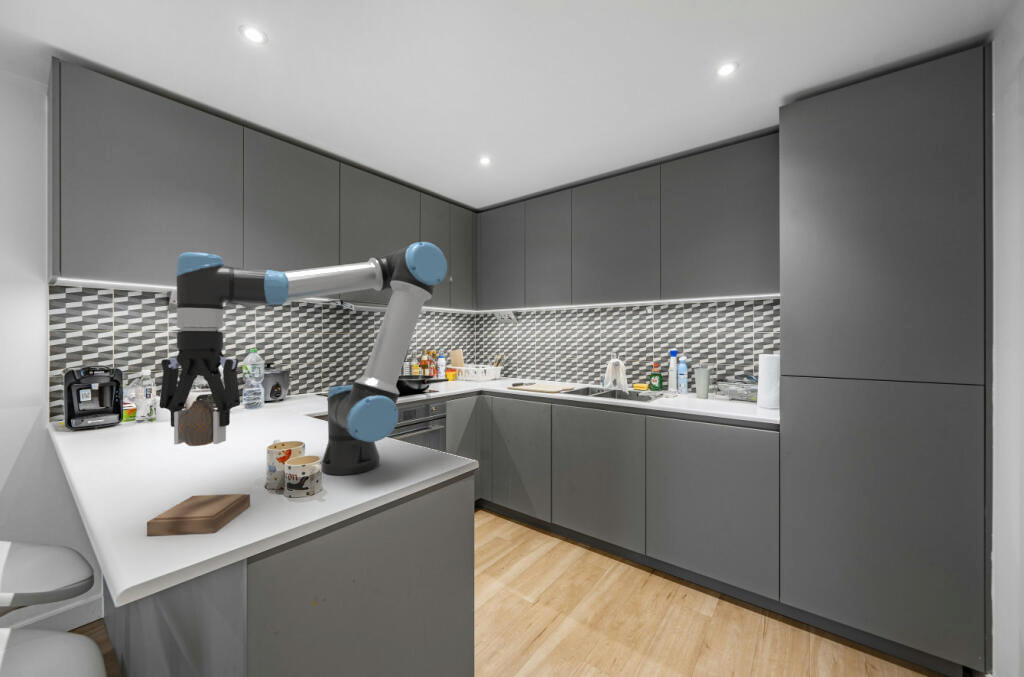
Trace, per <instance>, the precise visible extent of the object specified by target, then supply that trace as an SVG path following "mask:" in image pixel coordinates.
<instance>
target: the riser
mask: <svg viewBox="0 0 1024 677" xmlns="http://www.w3.org/2000/svg"><path fill="white" fill-rule="evenodd" d="M250 507H251V494H250V493H248V494H247V493H246V494H245V493H232V494H231V493H230V494H229V493H228V494H227V493H226V494H208V495H207V494H203V495H192V496H190V497H188V498H186V499H185V500H183V501H182V502H179V503H178V504H175V506H171V508H169V509H167V510H165V511H164V512H162V513H160V514H159V515H157V516H155V517H154V518H151V519H150V520H148V521H147V522H146V537H152V536H155V537H157V536H172V535H173V536H175V535H176V536H177V535H194V534H195V535H196V534H198V535H199V534H200V535H202V534H215V533H217V532H218V531H219V530H221V529H222V528H224V526H227V525H228V524H229V523H230V522H231V521H233V519H235V518H237V517H238V516H239V515H240V514H242V513H243V512H244V511H245V510H248V508H250Z"/></svg>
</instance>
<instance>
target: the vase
mask: <svg viewBox="0 0 1024 677" xmlns="http://www.w3.org/2000/svg"><path fill="white" fill-rule="evenodd" d="M186 410H187V411H186V412H185V414H184V415H183V416H182V418H181V420H180V424H179V434H180V437H181V439H182V441H183V442H184V444H186V445H187V446H189V447H200V446H207V445H209V444H213V412H215V411H216V410H217V409H215V408H214V407H213V406H212V405H211V404H210V402H209V401H208V400H207V399H202V400H194V401H192V403H191V405H190V406H189V408H188V409H186Z"/></svg>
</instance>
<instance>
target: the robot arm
mask: <svg viewBox="0 0 1024 677" xmlns="http://www.w3.org/2000/svg"><path fill="white" fill-rule="evenodd" d="M176 265H177V266H176V304H177V305H176V307H177V308H176V328H178V329H180V330H178V331H177V333H176V348H177V349H178V353H177V356H176V357H174V358H167V359H166V358H165V359H161V367H162V371H163V373H162V380H161V389H160V397H159V408H160V409H166V410H168V411H169V412H170V426H171V428H173V439H174V440H173V442H174V443H173V444H174V445H181V444H183V443H184V442H183V441H182V439H181V437H180V434H179V424H180V420H181V418H182V416H183V415H184V414H185V412H186V411H187V410H188V409H186V408H187V406H185V405H186V403H187V401H188V400H187V399H188V398H189V395H190V392H191V390H192V387H193V385H194V382H195V380H196V379H197V377H199V376H200V377H203V380H204V381H206V382H207V385H208V387H209V389H210V393H211V395H212V399H213V401H214V403H215V405H216V408H217V409H215V410H216V411H215V412H213V443H212V444H213V445H218V444H221V443H223V442H226V440H227V426H229V425H230V423H231V421H230V419H231V418H230V417H231V416H230V415H231V414H230V413H231V409H233V408H235V407H238V406H240V405H241V400H240V399H241V398H240V391H239V390H240V389H239V383H238V381H239V380H238V374H237V373H238V372H237V370H238V365H239V360H238V359H237V358H228V357H225V356H224V354H223V352H222V351H223V347H224V332H223V331H220V330H221V329H222V328H223V327H224V306H223V305H224V303H236V304H238V305H239V306H242V307H244V308H248V309H251V308H252V309H253V308H258V307H261V306H267V305H269V306H273V305H284V304H286V303H287V302H291V301H296V300H297V301H298V300H303V299H304V300H305V299H310V298H312V299H313V298H316V297H326V296H330V295H338V294H343V293H349V292H350V293H351V292H356V291H357V292H358V291H363V290H369V289H374V290H375V291H378V292H380V291H381V292H382V291H387V290H392V293H391V297H390V299H389V303H388V304H387V308H386V309H385V310H386V311H385V313H384V316H383V319H382V322H381V324H380V327H379V330H378V332H377V336H376V338H375V341H374V344H373V347H372V350H371V353H370V355H369V358H368V361H367V364H366V367H365V369H364V373H363V374H362V376H361V377H359V378H357V379H355V380H354V382H353V384H350V385H341V386H340V385H339V386H331V387H330V388H328V390H327V397H326V400H327V426H328V427H327V429H328V430H327V433H328V435H327V436H328V437H327V438H328V439H327V440H328V441H327V444H326V448H325V451H324V454H323V457H322V459H321V471H322V472H323V473H325V474H327V475H331V476H345V475H346V476H347V475H356V474H361V473H366V472H368V471H371V470H373V469H375V468H377V467H378V466H379V465H380V454H379V450H378V448H377V445H376V443H375V442H378V441H381V440H383V439H385V438H386V437H388V436H390V434H391V433H392V432H393V431H394V429H395V428H396V426H397V424H398V421H399V410H398V406H397V403H398V402H397V401H398V399H399V396H400V391H399V389H398V387H397V383H398V380H399V377H400V375H401V371H402V368H403V366H404V362H405V359H406V357H407V353H408V350H409V348H410V344H411V341H412V339H413V335H414V332H415V329H416V327H417V323H418V321H419V318H420V314H421V312H422V309H423V305H424V303H425V302H426V301H429V300H430V299H432V297H433V294H434V291H435V288H436V286H437V285H438V284H440V283H441V282H443V280H444V279H445V277H446V276H447V273H448V262H447V259H446V257H445V255H444V252H443V251H442V250H441V248H439V247H438V246H436V245H435V244H433V243H431V242H429V241H420V242H414V243H412V244H410V245H408V246H406V247H404V248H400V249H398V250H395V251H394V252H391V253H389V254H386V255H382V256H375V257H370V258H369V260H367V261H365V262H364V261H363V262H358V263H357V262H355V263H348V264H341V265H340V264H338V265H330V266H323V267H314V268H304V269H297V270H296V269H294V270H287V271H276V270H272V269H258V268H257V269H256V268H248V267H247V268H244V267H243V268H242V267H234V266H228V265H225V263H224V259H223V257H221V256H220V255H217V254H212V253H206V252H196V251H195V252H194V251H193V252H183V253H180V255H179V256H178V257H177V264H176ZM220 366H221V368H222V373H221V372H220ZM180 367H181V370H180V371H179V368H180ZM179 372H180V374H179ZM222 375H223V381H222V378H221V377H222ZM178 378H179V380H178ZM184 444H185V443H184Z"/></svg>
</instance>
